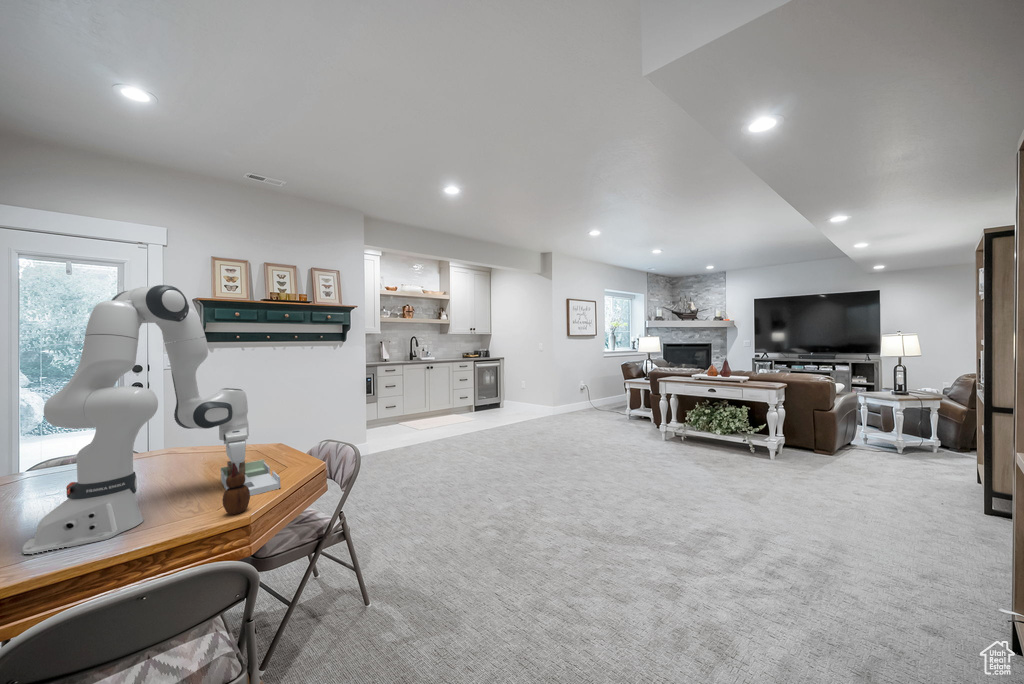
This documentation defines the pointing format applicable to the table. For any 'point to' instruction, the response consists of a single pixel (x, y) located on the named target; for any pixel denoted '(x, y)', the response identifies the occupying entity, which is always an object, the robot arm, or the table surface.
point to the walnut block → (241, 468)
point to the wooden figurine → (236, 493)
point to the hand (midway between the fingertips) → (235, 471)
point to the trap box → (256, 477)
